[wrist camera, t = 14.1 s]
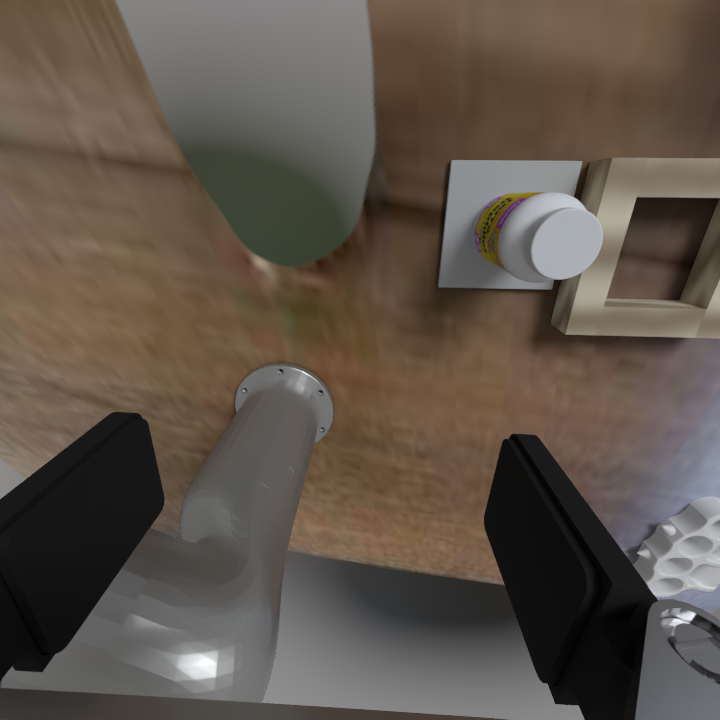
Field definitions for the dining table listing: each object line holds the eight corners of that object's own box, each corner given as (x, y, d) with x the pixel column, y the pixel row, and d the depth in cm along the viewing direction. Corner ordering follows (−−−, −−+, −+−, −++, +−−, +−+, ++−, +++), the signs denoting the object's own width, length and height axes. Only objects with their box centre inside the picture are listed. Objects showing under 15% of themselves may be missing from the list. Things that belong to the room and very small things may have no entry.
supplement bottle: (489, 182, 34) (549, 174, 22) (552, 206, 34) (642, 210, 23) (459, 251, 37) (499, 276, 25) (518, 272, 37) (583, 306, 25)
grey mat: (549, 288, 38) (552, 289, 38) (437, 286, 39) (438, 287, 38) (579, 161, 33) (582, 160, 33) (450, 160, 34) (451, 160, 33)
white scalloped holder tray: (688, 587, 58) (606, 567, 56) (771, 510, 50) (679, 485, 49) (705, 609, 55) (619, 588, 53) (796, 530, 47) (699, 505, 46)
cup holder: (696, 327, 39) (724, 338, 36) (550, 323, 40) (565, 334, 37) (767, 162, 33) (809, 159, 29) (589, 161, 33) (612, 157, 30)
